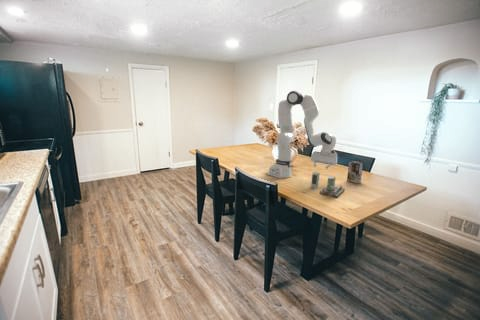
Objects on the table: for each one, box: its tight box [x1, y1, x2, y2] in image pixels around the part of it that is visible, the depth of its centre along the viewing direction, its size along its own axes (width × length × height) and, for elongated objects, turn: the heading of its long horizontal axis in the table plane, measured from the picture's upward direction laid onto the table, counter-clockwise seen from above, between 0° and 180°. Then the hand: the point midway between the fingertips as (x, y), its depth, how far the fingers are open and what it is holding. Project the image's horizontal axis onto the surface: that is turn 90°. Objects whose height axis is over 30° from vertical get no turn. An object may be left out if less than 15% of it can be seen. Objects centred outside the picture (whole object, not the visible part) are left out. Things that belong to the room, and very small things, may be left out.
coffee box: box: [346, 160, 364, 184], centre depth 201 cm, size 9×6×16 cm
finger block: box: [310, 171, 320, 189], centre depth 187 cm, size 4×4×11 cm
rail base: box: [319, 176, 345, 199], centre depth 177 cm, size 12×18×12 cm, turn 142°
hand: (320, 167), depth 191 cm, fingers open, 8 cm apart
